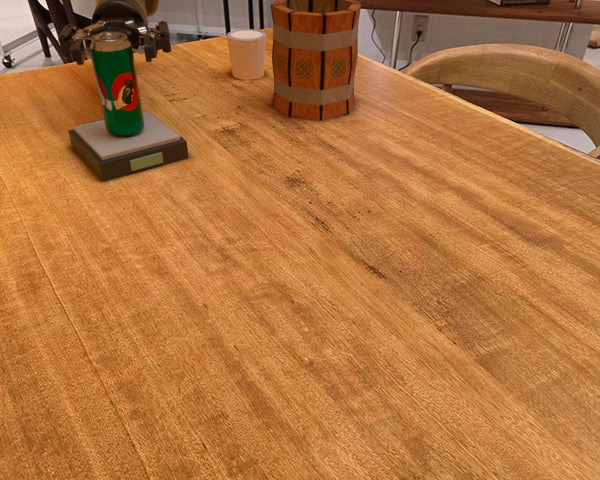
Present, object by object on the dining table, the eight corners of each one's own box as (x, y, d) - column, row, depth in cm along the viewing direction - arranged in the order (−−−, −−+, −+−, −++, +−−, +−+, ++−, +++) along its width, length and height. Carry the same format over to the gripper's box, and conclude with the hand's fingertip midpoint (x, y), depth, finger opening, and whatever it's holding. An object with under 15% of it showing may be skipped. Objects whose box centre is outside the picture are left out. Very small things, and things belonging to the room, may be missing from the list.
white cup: (233, 67, 109) (231, 27, 104) (270, 70, 108) (269, 29, 104) (225, 80, 104) (222, 38, 99) (263, 82, 103) (262, 40, 99)
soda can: (151, 125, 81) (136, 32, 73) (136, 140, 77) (119, 44, 69) (116, 121, 82) (99, 29, 74) (100, 136, 78) (79, 41, 70)
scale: (104, 183, 75) (99, 160, 73) (72, 148, 82) (66, 126, 80) (189, 159, 80) (187, 137, 78) (152, 128, 88) (148, 107, 86)
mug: (364, 119, 91) (372, 14, 82) (277, 123, 90) (276, 17, 80) (338, 76, 106) (344, -17, 97) (264, 78, 105) (261, -15, 95)
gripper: (64, -6, 83) (46, 25, 71) (166, -9, 85) (166, 22, 73) (76, 49, 88) (62, 88, 76) (173, 45, 90) (174, 82, 78)
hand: (113, 55), depth 75 cm, fingers open, 8 cm apart
